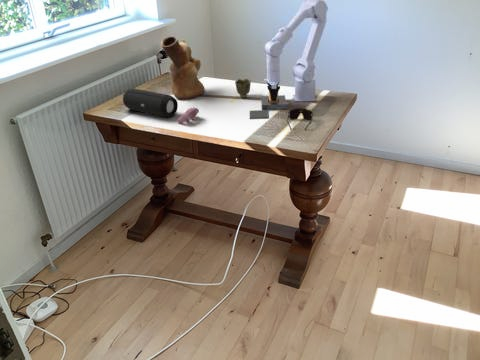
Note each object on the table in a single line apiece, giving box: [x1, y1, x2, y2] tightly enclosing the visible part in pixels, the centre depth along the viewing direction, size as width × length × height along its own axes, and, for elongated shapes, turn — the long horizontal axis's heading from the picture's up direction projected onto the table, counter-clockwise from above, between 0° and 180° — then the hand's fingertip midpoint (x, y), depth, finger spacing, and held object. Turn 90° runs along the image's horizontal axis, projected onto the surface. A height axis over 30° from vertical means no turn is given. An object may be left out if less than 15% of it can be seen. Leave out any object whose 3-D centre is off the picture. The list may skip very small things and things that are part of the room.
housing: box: [260, 94, 287, 111], centre depth 202 cm, size 11×11×2 cm
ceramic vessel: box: [160, 36, 206, 100], centre depth 210 cm, size 16×22×30 cm
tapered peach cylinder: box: [268, 91, 279, 102], centre depth 200 cm, size 4×4×9 cm
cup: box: [234, 78, 252, 99], centre depth 211 cm, size 8×7×8 cm
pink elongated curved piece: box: [177, 106, 200, 124], centre depth 191 cm, size 10×5×7 cm, turn 148°
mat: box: [249, 109, 269, 120], centre depth 194 cm, size 8×8×1 cm
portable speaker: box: [122, 88, 179, 118], centre depth 200 cm, size 26×10×10 cm, turn 59°
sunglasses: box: [286, 107, 314, 131], centre depth 183 cm, size 10×12×5 cm
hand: (273, 98), depth 201 cm, fingers closed on tapered peach cylinder, 4 cm apart
